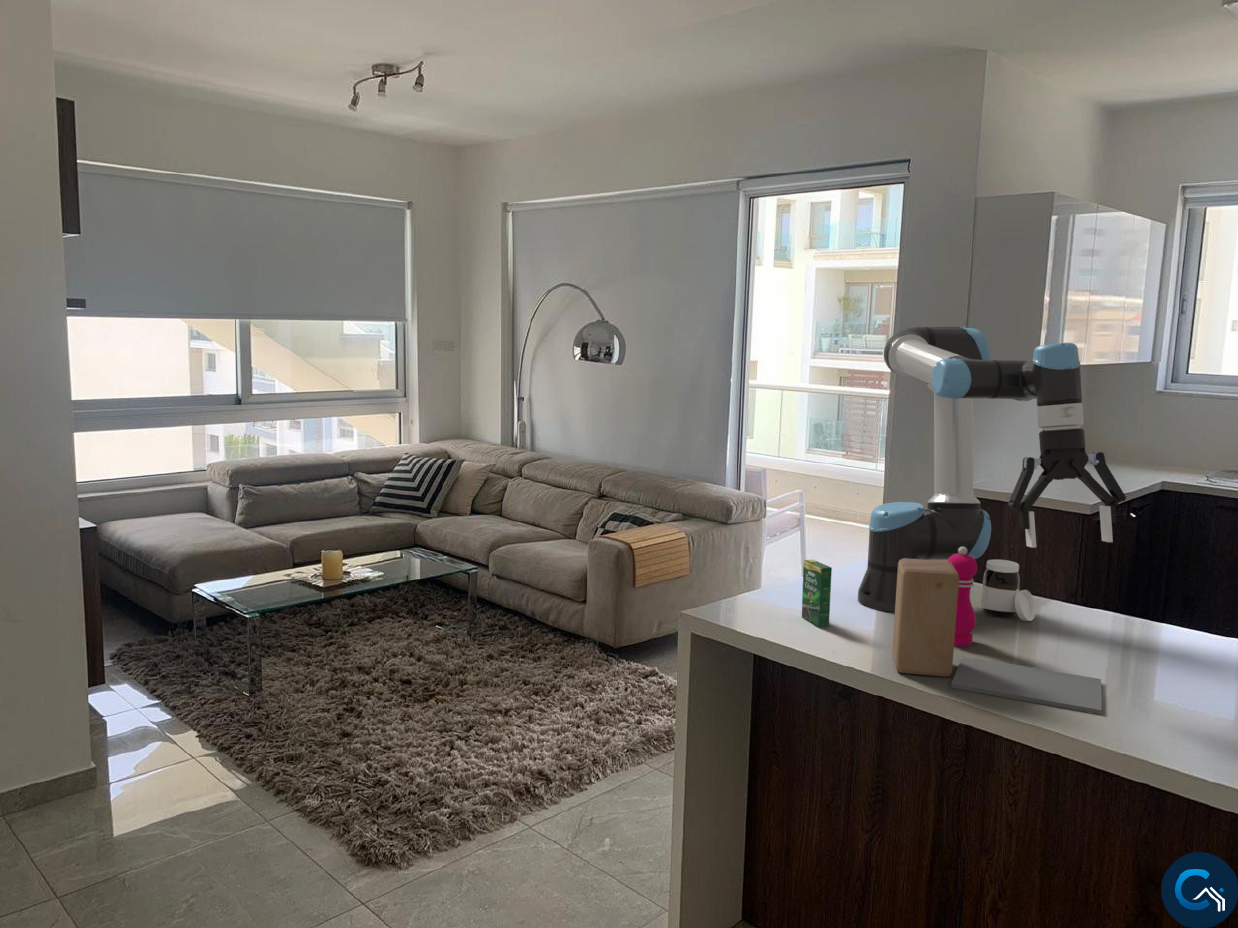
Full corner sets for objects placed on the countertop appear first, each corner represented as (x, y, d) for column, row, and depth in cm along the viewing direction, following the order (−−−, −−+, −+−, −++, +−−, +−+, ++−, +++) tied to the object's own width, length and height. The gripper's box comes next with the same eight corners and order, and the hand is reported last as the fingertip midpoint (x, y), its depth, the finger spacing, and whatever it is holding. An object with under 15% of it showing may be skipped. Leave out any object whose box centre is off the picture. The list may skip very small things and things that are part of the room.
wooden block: (952, 679, 172) (960, 573, 169) (895, 674, 174) (902, 569, 171) (944, 660, 182) (952, 560, 179) (891, 655, 184) (898, 556, 181)
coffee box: (799, 616, 208) (802, 558, 206) (811, 615, 208) (814, 558, 206) (817, 628, 200) (820, 568, 198) (829, 627, 201) (833, 567, 199)
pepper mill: (936, 644, 191) (943, 548, 188) (938, 633, 198) (945, 541, 195) (974, 649, 189) (981, 552, 186) (974, 638, 195) (982, 544, 192)
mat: (962, 659, 182) (962, 655, 182) (1100, 682, 172) (1100, 678, 172) (951, 687, 168) (951, 683, 168) (1101, 714, 158) (1101, 710, 158)
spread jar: (980, 604, 219) (984, 556, 218) (1033, 610, 215) (1037, 561, 214) (980, 619, 208) (984, 568, 207) (1035, 626, 204) (1040, 574, 203)
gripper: (999, 433, 168) (1007, 551, 168) (1141, 422, 167) (1149, 541, 167) (984, 434, 176) (992, 546, 176) (1120, 423, 174) (1128, 537, 175)
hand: (1069, 544), depth 172 cm, fingers open, 13 cm apart
